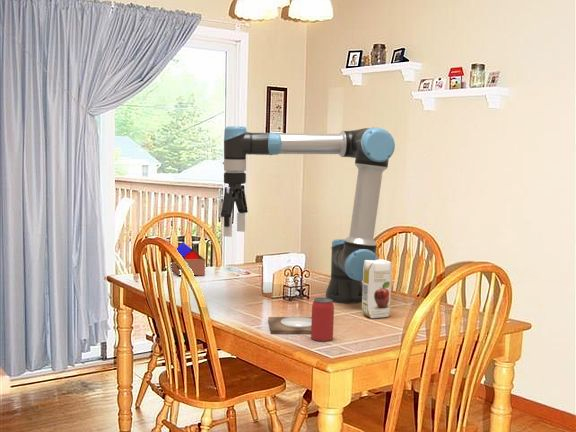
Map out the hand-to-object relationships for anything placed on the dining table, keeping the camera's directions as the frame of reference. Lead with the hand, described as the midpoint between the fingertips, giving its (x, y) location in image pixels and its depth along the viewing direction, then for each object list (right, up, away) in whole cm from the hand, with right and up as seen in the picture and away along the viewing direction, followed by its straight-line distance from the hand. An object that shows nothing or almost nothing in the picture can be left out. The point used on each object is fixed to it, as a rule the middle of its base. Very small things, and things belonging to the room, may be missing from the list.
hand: (234, 233), depth 235 cm
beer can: (+29, -31, -31) cm, 52 cm away
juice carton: (+48, -28, -1) cm, 56 cm away
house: (-27, -19, +70) cm, 77 cm away
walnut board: (+22, -29, -19) cm, 41 cm away
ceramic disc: (+22, -28, -19) cm, 40 cm away
